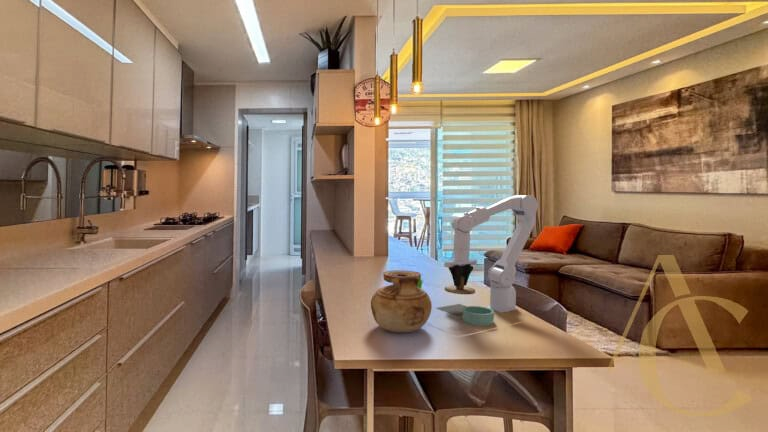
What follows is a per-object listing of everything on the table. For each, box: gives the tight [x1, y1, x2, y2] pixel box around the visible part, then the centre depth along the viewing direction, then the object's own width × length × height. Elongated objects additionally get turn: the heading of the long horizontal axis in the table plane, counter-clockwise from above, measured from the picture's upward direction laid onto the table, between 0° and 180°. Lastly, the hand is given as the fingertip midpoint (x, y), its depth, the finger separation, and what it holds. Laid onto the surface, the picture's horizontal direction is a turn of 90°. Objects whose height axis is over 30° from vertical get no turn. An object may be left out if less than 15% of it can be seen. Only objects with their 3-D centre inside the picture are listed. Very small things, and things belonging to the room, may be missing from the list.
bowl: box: [461, 305, 495, 327], centre depth 138 cm, size 10×10×4 cm
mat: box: [436, 303, 468, 317], centre depth 152 cm, size 12×12×1 cm
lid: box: [444, 276, 476, 295], centre depth 151 cm, size 11×11×5 cm
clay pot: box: [370, 270, 433, 334], centre depth 129 cm, size 19×19×20 cm
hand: (460, 285), depth 151 cm, fingers closed on lid, 3 cm apart
